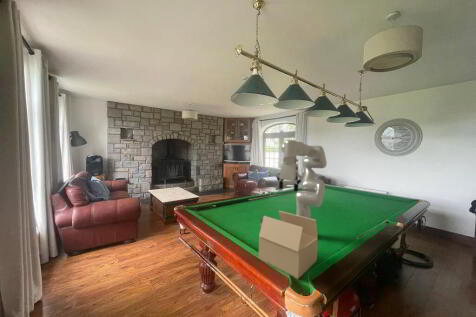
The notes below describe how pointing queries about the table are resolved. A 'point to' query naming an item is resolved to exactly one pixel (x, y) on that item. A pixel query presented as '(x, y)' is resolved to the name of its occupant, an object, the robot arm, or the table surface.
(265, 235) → the front flap
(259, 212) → the table surface
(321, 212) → the table surface
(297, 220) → the rear flap
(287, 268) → the carton
